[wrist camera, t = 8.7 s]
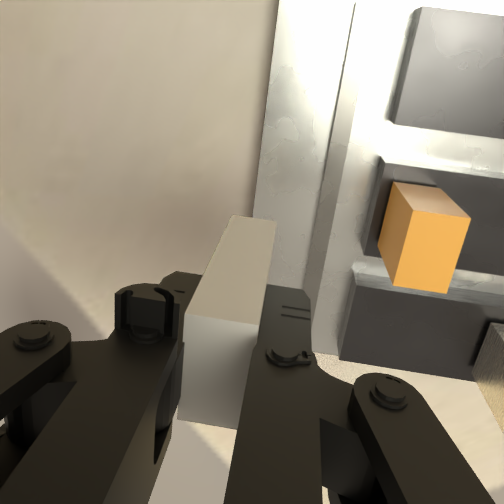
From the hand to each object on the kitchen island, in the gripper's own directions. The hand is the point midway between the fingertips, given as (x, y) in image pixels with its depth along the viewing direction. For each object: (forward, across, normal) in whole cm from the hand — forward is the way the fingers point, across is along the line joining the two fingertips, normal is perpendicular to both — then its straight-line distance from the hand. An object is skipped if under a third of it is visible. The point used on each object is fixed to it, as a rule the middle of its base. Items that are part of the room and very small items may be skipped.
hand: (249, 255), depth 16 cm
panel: (+10, +9, +1) cm, 13 cm away
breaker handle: (+6, +6, +1) cm, 9 cm away
